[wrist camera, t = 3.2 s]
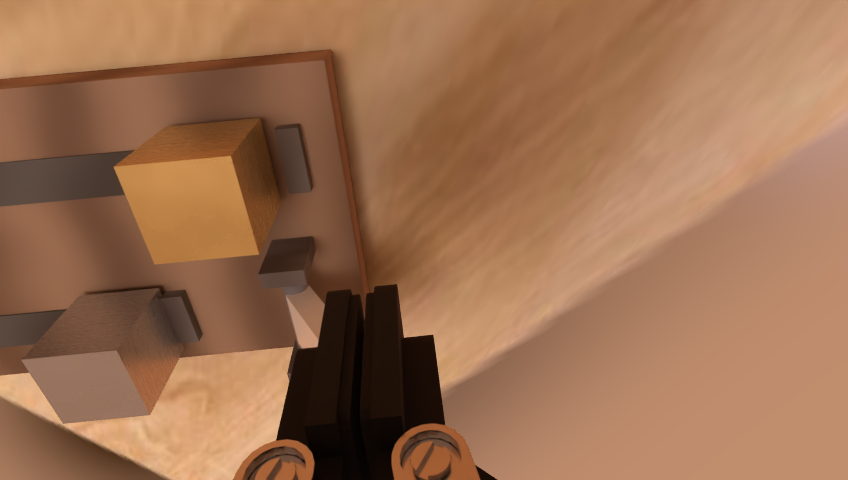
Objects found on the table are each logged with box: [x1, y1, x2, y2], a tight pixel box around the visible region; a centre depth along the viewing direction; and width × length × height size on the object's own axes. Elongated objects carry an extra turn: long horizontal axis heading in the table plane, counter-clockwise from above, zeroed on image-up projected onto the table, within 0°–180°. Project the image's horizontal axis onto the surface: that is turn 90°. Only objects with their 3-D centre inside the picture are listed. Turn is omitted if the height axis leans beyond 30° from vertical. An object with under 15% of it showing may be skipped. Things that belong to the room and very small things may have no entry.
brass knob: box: [114, 118, 281, 264], centre depth 20 cm, size 4×4×4 cm
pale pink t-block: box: [282, 284, 325, 349], centre depth 22 cm, size 2×4×9 cm, turn 5°
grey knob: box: [21, 288, 184, 424], centre depth 24 cm, size 4×4×4 cm
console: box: [0, 50, 370, 381], centre depth 24 cm, size 22×15×6 cm
